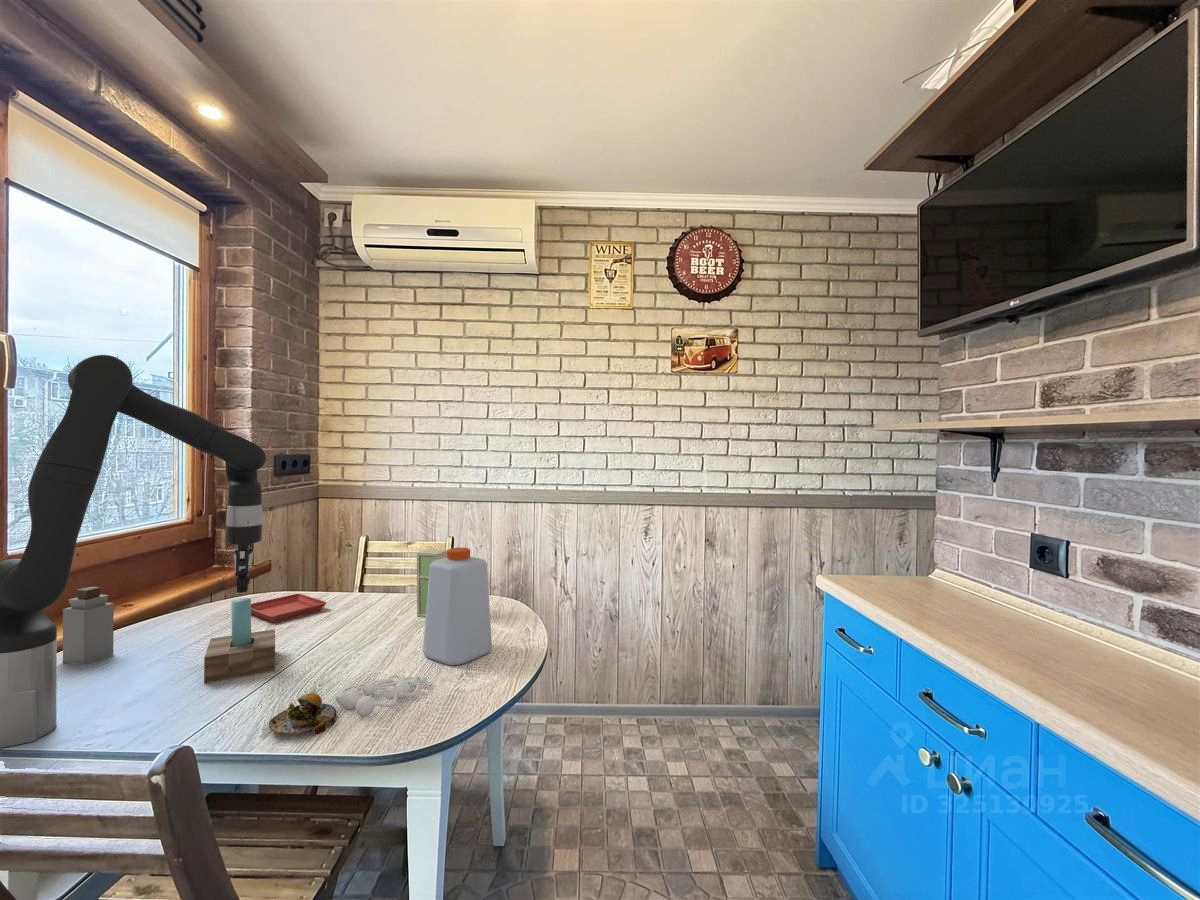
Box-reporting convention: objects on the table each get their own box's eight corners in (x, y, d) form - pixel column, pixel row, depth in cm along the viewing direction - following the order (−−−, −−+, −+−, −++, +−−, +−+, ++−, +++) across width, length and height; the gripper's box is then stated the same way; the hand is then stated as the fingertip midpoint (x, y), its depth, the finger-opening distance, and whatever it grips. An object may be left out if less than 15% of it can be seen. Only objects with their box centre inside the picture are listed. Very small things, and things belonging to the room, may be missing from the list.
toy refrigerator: (414, 617, 173) (415, 552, 173) (428, 610, 180) (428, 548, 180) (436, 619, 171) (436, 554, 171) (448, 613, 178) (449, 549, 178)
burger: (261, 725, 107) (262, 687, 107) (325, 705, 115) (325, 670, 115) (278, 749, 98) (278, 709, 98) (345, 726, 106) (346, 689, 106)
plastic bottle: (498, 650, 146) (499, 548, 146) (455, 669, 133) (456, 557, 133) (460, 639, 154) (461, 542, 154) (416, 656, 141) (417, 550, 141)
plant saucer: (328, 611, 179) (328, 601, 179) (271, 626, 164) (271, 615, 164) (298, 602, 189) (298, 593, 189) (242, 615, 174) (242, 605, 174)
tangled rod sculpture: (403, 678, 131) (403, 661, 131) (442, 689, 123) (442, 671, 123) (325, 708, 115) (325, 688, 115) (365, 722, 107) (365, 701, 107)
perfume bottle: (83, 664, 133) (84, 592, 133) (62, 662, 135) (63, 591, 135) (113, 654, 140) (113, 586, 140) (92, 652, 141) (93, 584, 141)
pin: (251, 661, 133) (250, 600, 133) (231, 664, 131) (230, 603, 131) (251, 656, 136) (250, 597, 136) (232, 659, 134) (231, 599, 134)
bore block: (274, 670, 131) (275, 646, 131) (204, 683, 124) (204, 657, 124) (275, 651, 143) (275, 629, 143) (210, 662, 136) (210, 638, 136)
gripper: (261, 525, 129) (260, 593, 129) (263, 519, 142) (261, 580, 141) (223, 527, 125) (222, 597, 125) (228, 520, 138) (227, 583, 138)
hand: (243, 588), depth 133 cm, fingers open, 8 cm apart
